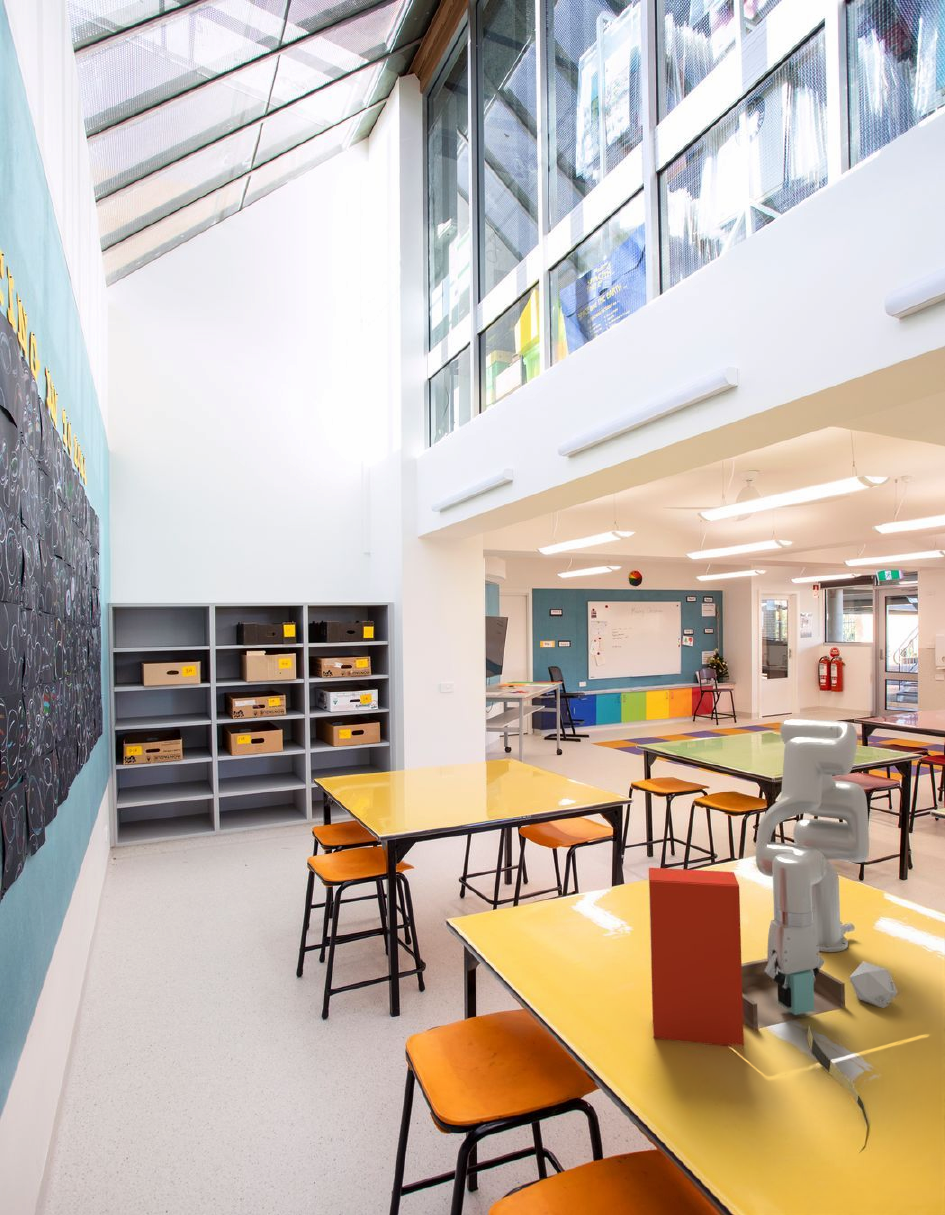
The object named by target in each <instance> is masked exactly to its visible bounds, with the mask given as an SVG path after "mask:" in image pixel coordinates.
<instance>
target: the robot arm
mask: <svg viewBox="0 0 945 1215" xmlns="http://www.w3.org/2000/svg"><path fill="white" fill-rule="evenodd" d="M779 731H780V733H779V734H780V737H781V739H782V740H781V741H782V742H783V744H784V745H785V746H784V752H783V761H782V762H783V763H782V778H781V795H780V797H779V799H778V800H777V801H776V802H775V803H774V804H772V805H771V806H770V807H769V808H768V810H766V812H765V813H764V814H763V816H762V818H761V820H760V822H759V825H758V827H757V834H756V835H757V836H756V844H755V845H756V848H755V864H756V868H757V869H758V871H759V872H760V873H761V874H763V875H764V876H766V877H772V892H773V894H772V895H773V896H772V898H773V919H771V920H770V924H769V929H768V934H767V935H768V937H767V950H766V951H767V952H766V953H767V956H766V957H767V958H766V959H768V965H767V967H766V968H765V970H764V972H765V973H766V974H767V975H768V976H770V977H771V978H772V979H773V980H774V981H775V982H776V983H777V984H778V1000H779V1002H781V1003H782V1004H783V1005H785V1006H786V1007H788V1008H790V1007H791V989H790V988H789V987H788V986H789V981H790V974H793V973H798V972H802V971H807V970H810V971H812V972H813V983H814V982H815V977H816V975H817V973H818V972H819V969H821V968H822V967H823V965H824V964H825V960H824V959H823V957H822V956H821V955H820V952H824V953H837V952H843V951H844V950H846V949H848V946H849V942H848V940H847V938H846V937H845V934H846V933H849V932H854V931H855V929H856V928H855V925H854V924H853V923H851V922H849V923H844V924H843V923H842V921H841V910H840V909H841V908H840V907H841V905H840V904H841V903H840V902H841V900H840V878H839V874H838V871H837V869H836V868H835V866H834V865H833V864H832V862H831V861H830V860H834V861H841V862H848V863H855V864H856V863H857V864H858V863H864V862H865V861H867V860H868V859H869V855H870V833H869V832H870V831H869V830H870V829H869V814H868V802H867V796H866V792H865V790H864V787H862V786H861V785H860V784H858V783H856V782H851V781H841V780H835V779H834V777H833V776H847V775H849V774H850V773H851V771H852V769H853V766H854V763H855V757H856V752H857V747H858V733H857V730H856V727H855V726H854V725H853V724H852V723H850V722H847V721H842V720H823V719H813V718H812V719H809V718H808V719H807V718H792V719H791V718H790V719H786V720H784V721H782V722H781V724H780V728H779ZM802 814H806V815H809V816H813V817H819V818H826V819H828V818H829V819H837V820H843V822H842V821H841V822H840V821H834V820H829V819H828V820H826V819H819V818H804V819H800V820H798V821H797V822H796V823H795V824H794V825H793V840H794V844H792V843H791V844H790V843H783V842H777V841H776V842H774V841H772V836H773V832H774V831H775V828H777V826H778V825H779V824H781V823H782V822H783V821H785V820H788V819H790V818H793V817H796V816H799V815H802ZM844 821H845V822H844ZM776 968H777V970H776ZM775 970H776V973H775ZM782 974H784V978H783V979H782Z"/></svg>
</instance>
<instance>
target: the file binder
mask: <svg viewBox="0 0 945 1215" xmlns="http://www.w3.org/2000/svg"><path fill="white" fill-rule="evenodd" d="M648 887H649V888H648V891H649V893H648V894H649V896H648V897H649V899H648V900H649V929H650V930H649V933H650V934H649V935H650V936H649V937H650V966H651V967H650V968H651V969H650V970H651V972H650V973H651V1002H652V1006H651V1007H652V1029H653V1039H657V1040H658V1039H659V1040H665V1041H666V1040H668V1041H679V1042H684V1043H685V1042H686V1043H696V1044H707V1045H715V1046H716V1045H717V1046H725V1047H726V1046H727V1047H732V1045H739V1046H744V1045H745V1041H744V1039H745V1038H744V1037H745V1036H744V1021H743V999H742V964H743V963H742V942H741V941H742V938H741V936H742V934H741V905H740V902H741V900H740V898H741V897H740V896H741V894H740V884H739V882H738V879H737V876H736V874H735V872H734V871H721V870H719V871H718V870H717V871H716V870H702V869H701V870H699V869H681V868H664V867H663V868H662V867H648Z"/></svg>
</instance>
